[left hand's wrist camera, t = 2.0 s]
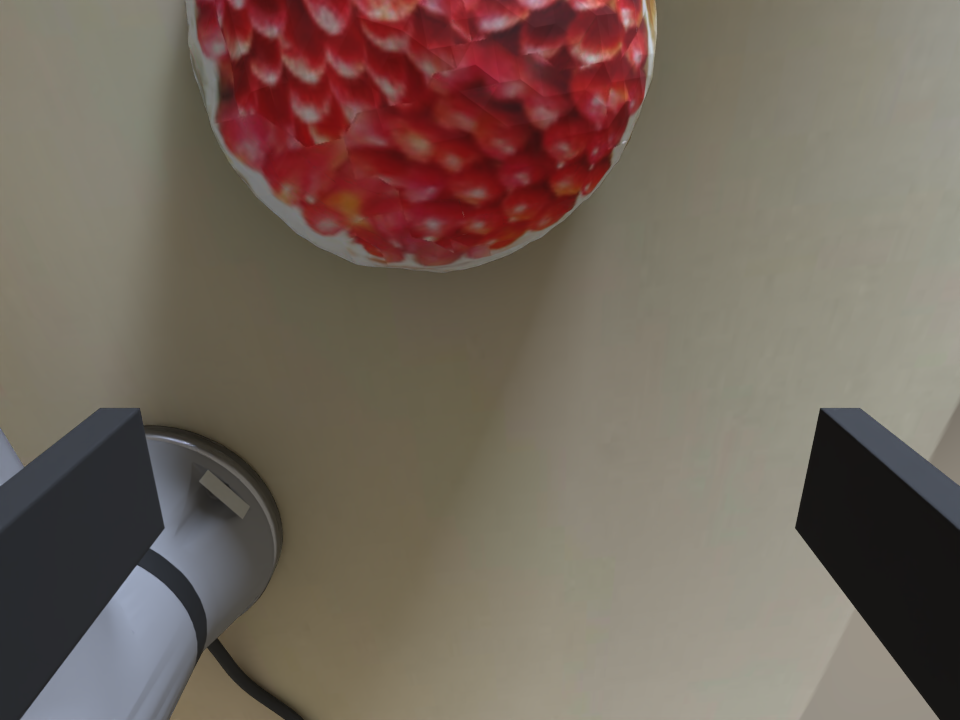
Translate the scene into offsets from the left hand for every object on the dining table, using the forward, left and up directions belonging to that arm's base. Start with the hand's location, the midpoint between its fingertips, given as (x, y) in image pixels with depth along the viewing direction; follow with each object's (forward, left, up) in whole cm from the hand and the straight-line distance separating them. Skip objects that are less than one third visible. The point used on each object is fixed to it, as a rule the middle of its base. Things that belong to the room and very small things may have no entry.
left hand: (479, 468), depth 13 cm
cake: (+11, +3, -26) cm, 28 cm away
